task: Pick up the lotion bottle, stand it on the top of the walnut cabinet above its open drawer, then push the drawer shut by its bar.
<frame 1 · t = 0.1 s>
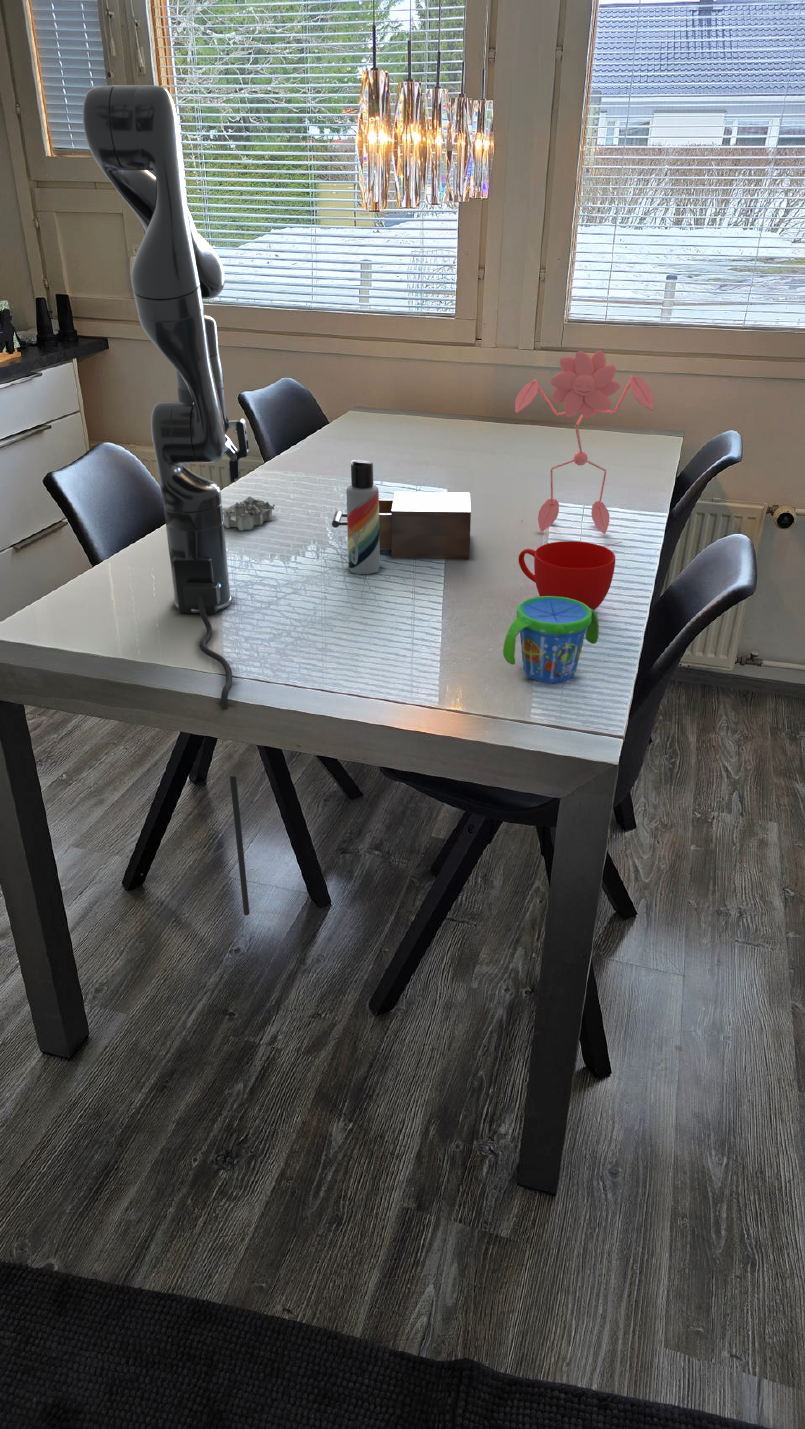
hand: (209, 481, 172), 17 cm above the table, tool pointing down, fingers open, 8 cm apart
snack cup: (549, 674, 146), on the table
figurine: (571, 537, 199), on the table
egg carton: (248, 523, 207), on the table
lotion bottle: (364, 570, 183), on the table
cabinet: (430, 547, 193), on the table
ceramic cup: (559, 609, 167), on the table
drawer: (379, 524, 191), point 5 cm above the table, slide at 6.0 cm
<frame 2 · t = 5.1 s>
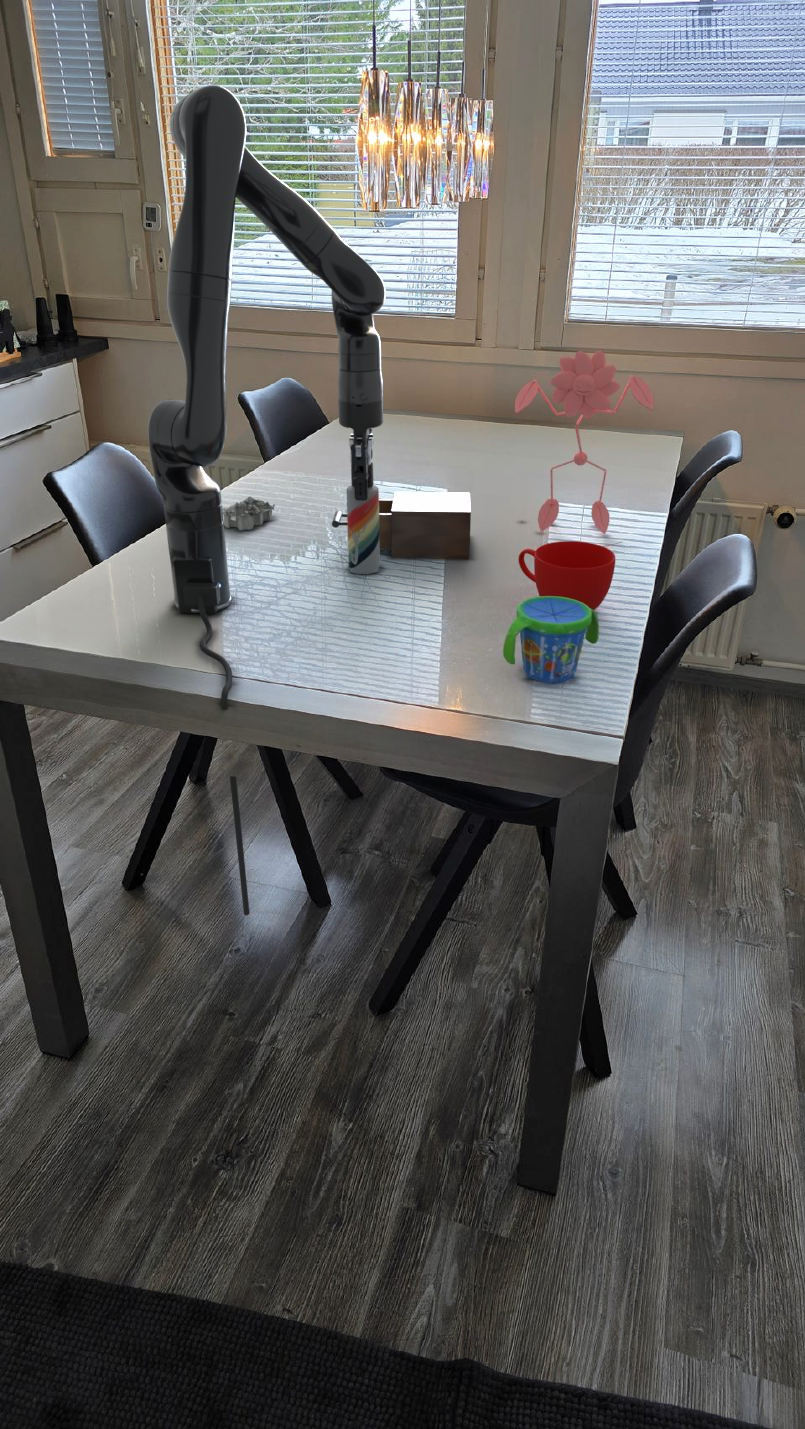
hand: (362, 494, 176), 14 cm above the table, tool pointing down, fingers closed on lotion bottle, 5 cm apart
lotion bottle: (364, 570, 183), on the table, touching gripper
everything else where it was.
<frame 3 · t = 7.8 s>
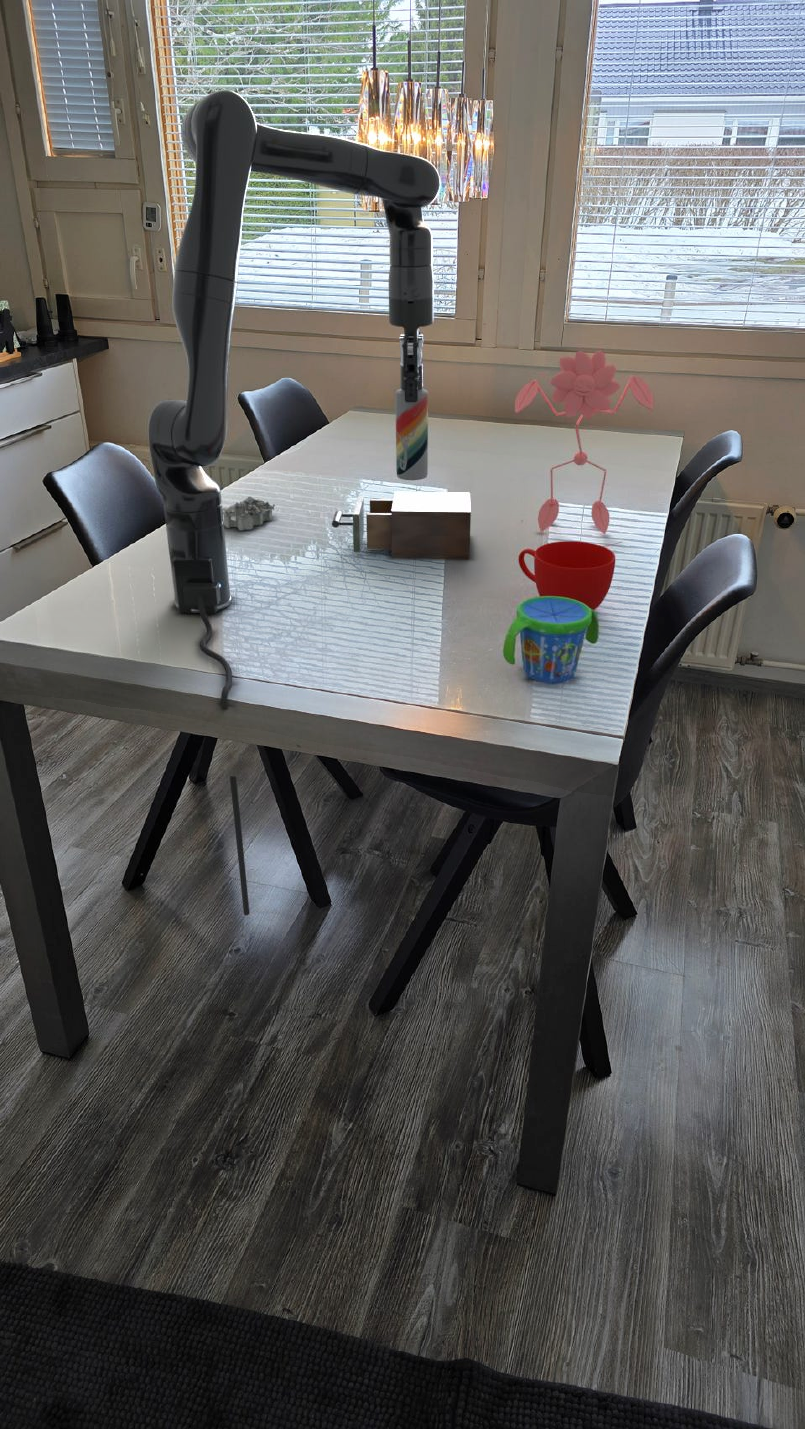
hand: (411, 397, 175), 29 cm above the table, tool pointing down, fingers closed on lotion bottle, 5 cm apart
lotion bottle: (412, 477, 182), point 15 cm above the table, touching gripper
everything else where it was.
when the fingers open (23 cm above the table, at t = 10.5 s): lotion bottle stays where it is, resting on cabinet.
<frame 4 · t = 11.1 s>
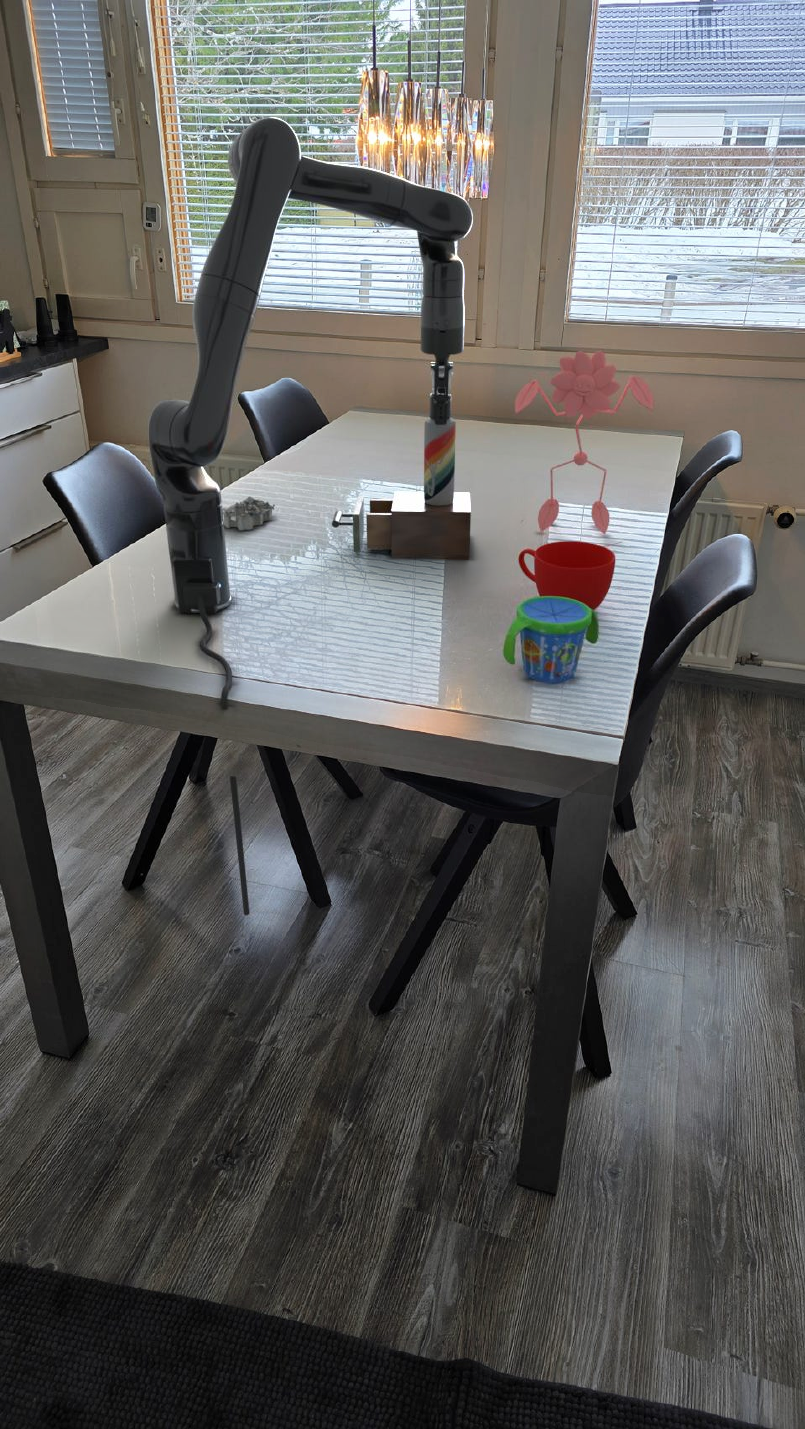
hand: (440, 418, 181), 24 cm above the table, tool pointing down, fingers open, 8 cm apart
lotion bottle: (438, 502, 189), point 9 cm above the table, touching cabinet
everything else where it was.
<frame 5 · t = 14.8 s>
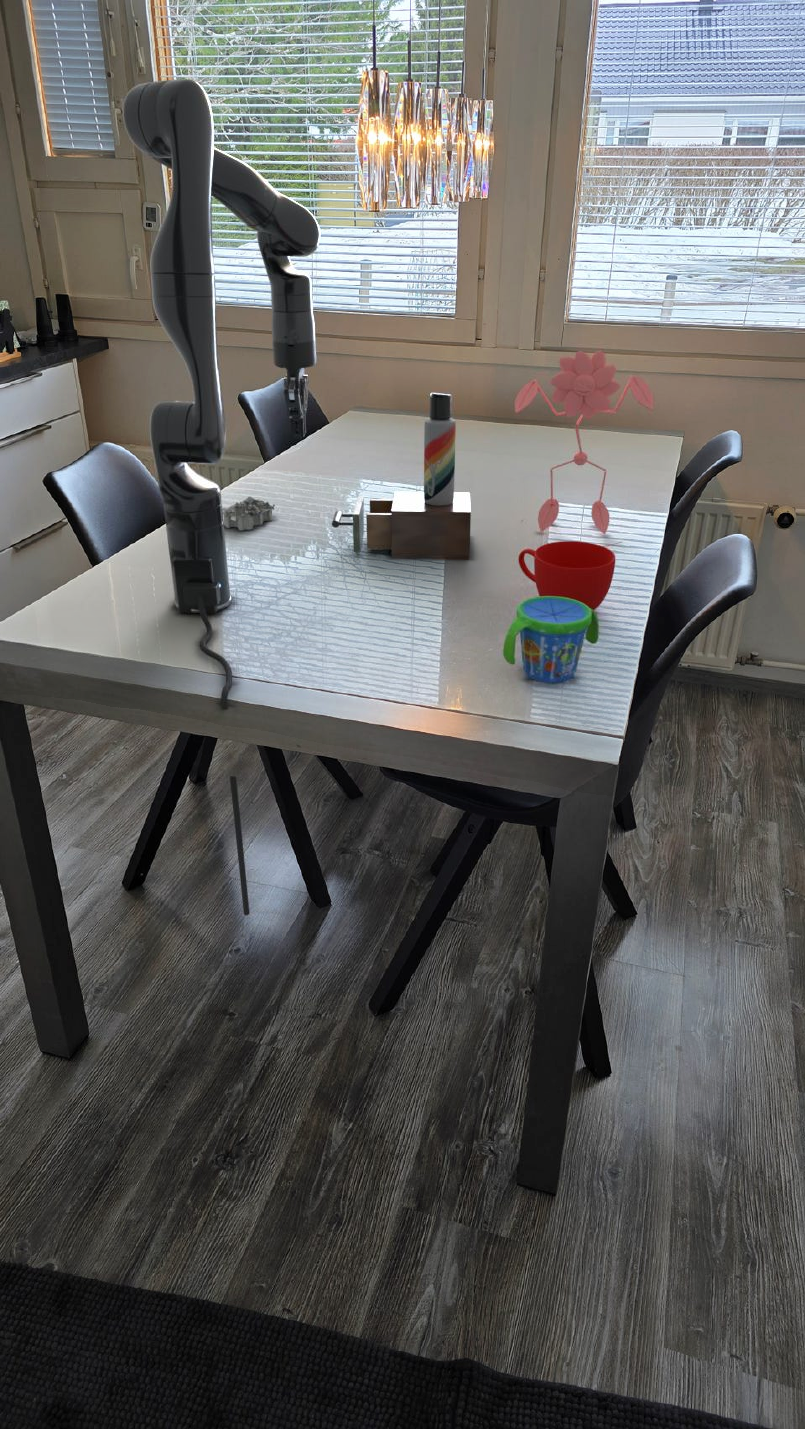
hand: (298, 436, 184), 21 cm above the table, tool pointing down, fingers closed
nothing on the table moved.
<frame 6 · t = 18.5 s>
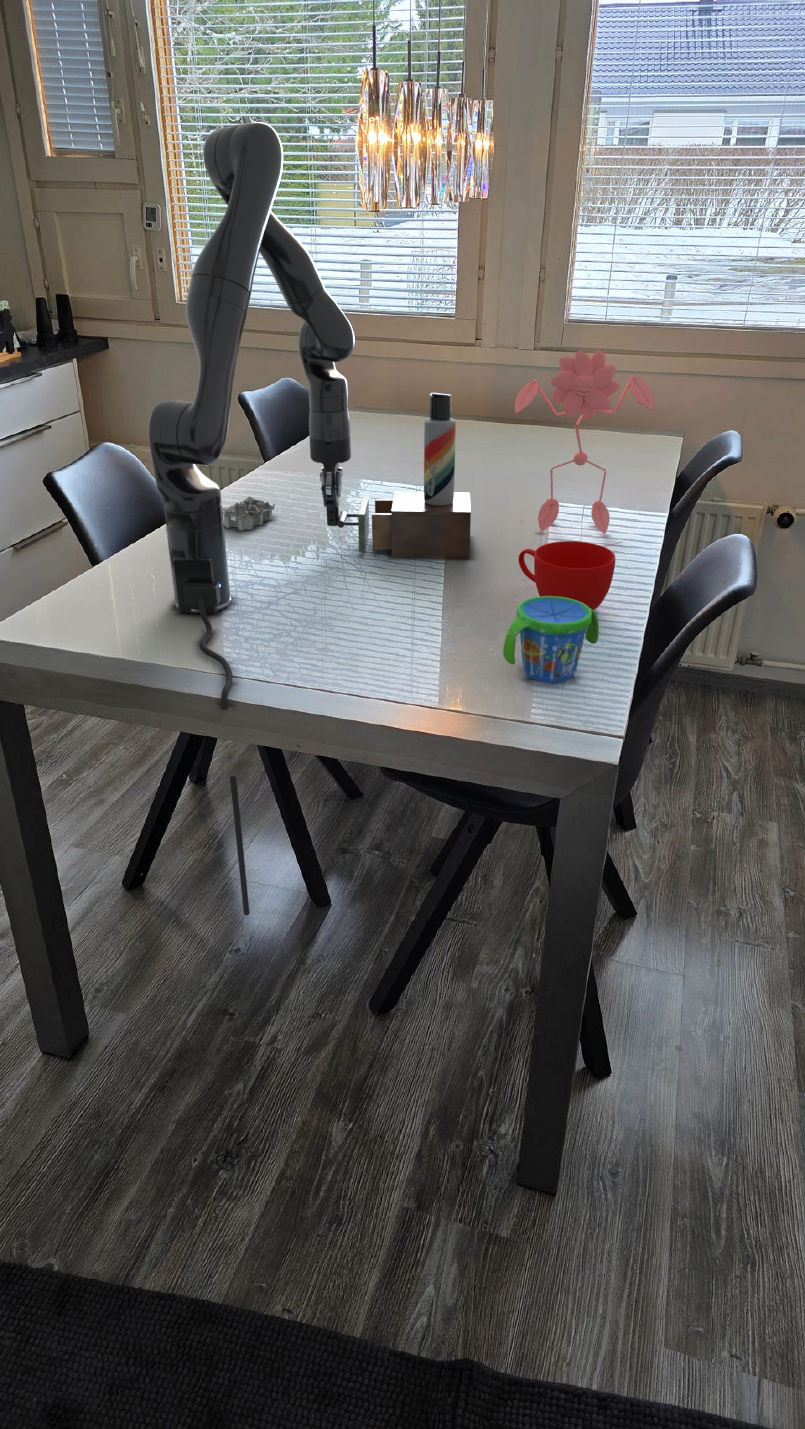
hand: (333, 524, 192), 4 cm above the table, tool pointing down, fingers closed
drawer: (384, 524, 191), point 5 cm above the table, slide at 5.0 cm, touching gripper
everything else where it was.
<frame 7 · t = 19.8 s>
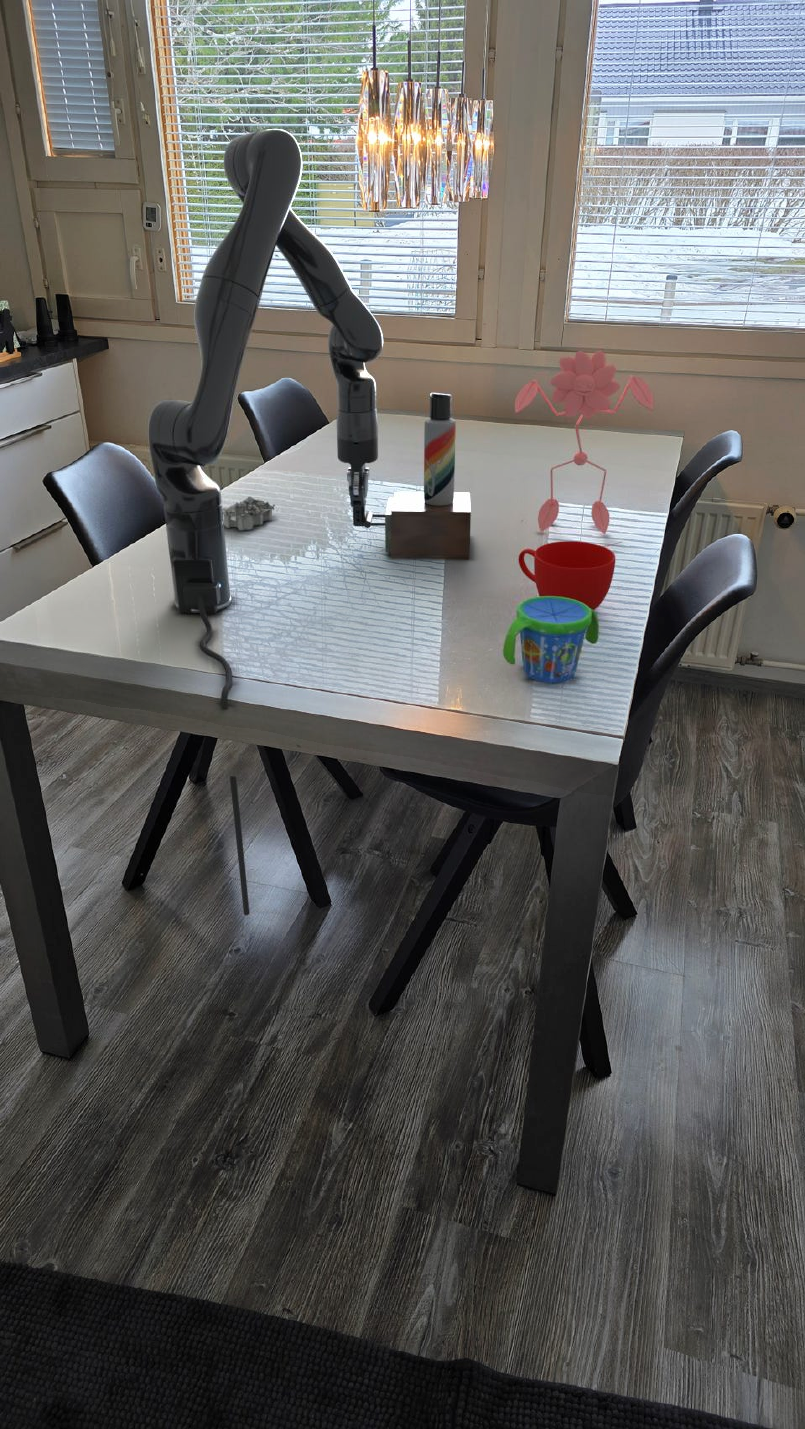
hand: (359, 525, 192), 4 cm above the table, tool pointing down, fingers closed
drawer: (411, 524, 191), point 5 cm above the table, slide at 0.0 cm, touching cabinet, gripper
everything else where it was.
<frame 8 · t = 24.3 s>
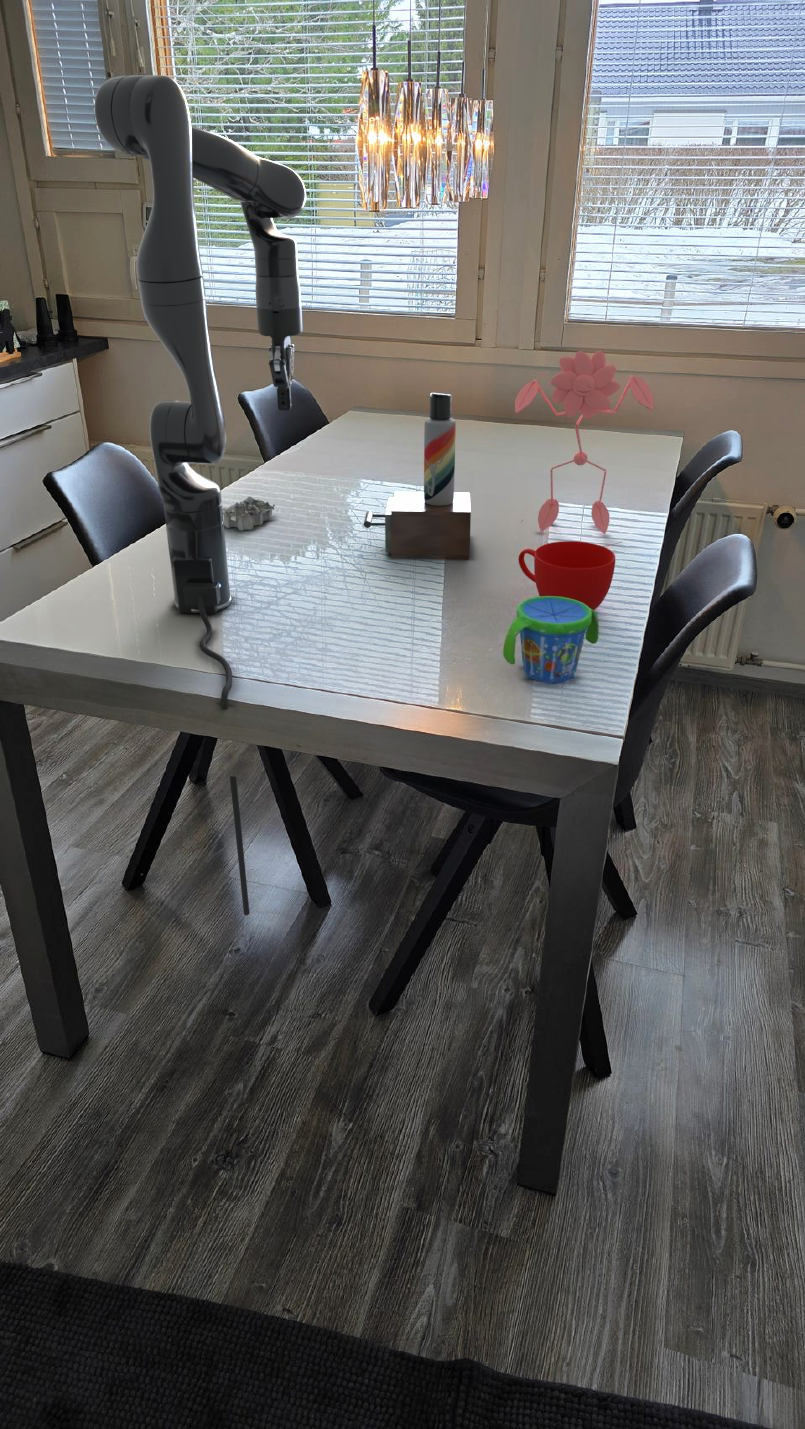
hand: (284, 409, 176), 27 cm above the table, tool pointing down, fingers closed
drawer: (411, 524, 191), point 5 cm above the table, slide at 0.0 cm, touching cabinet
everything else where it was.
at the end: lotion bottle inside the target area on the cabinet (0.9 cm from its centre), point 8.9 cm above the cabinet's base; lotion bottle tilted 0°; drawer slide at 0.0 cm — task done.
